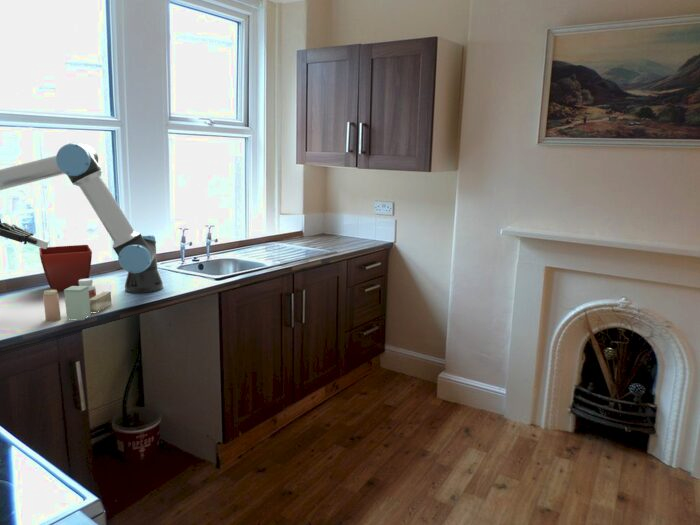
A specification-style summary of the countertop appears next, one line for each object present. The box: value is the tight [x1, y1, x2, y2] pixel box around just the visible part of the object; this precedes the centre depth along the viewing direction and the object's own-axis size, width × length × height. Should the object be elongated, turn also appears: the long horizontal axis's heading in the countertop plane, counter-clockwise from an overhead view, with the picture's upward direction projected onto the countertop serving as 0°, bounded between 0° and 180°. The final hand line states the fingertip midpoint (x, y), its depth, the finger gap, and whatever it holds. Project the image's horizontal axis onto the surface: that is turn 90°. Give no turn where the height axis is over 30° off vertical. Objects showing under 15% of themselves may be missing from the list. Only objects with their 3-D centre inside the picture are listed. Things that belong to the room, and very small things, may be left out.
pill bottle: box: [78, 278, 97, 299], centre depth 205 cm, size 6×6×11 cm
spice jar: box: [42, 289, 62, 322], centre depth 192 cm, size 5×5×10 cm
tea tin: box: [63, 286, 92, 321], centre depth 194 cm, size 6×6×11 cm
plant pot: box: [38, 244, 93, 293], centre depth 236 cm, size 19×19×17 cm
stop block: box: [89, 291, 112, 313], centre depth 206 cm, size 3×12×5 cm, turn 179°
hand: (46, 245), depth 206 cm, fingers closed
